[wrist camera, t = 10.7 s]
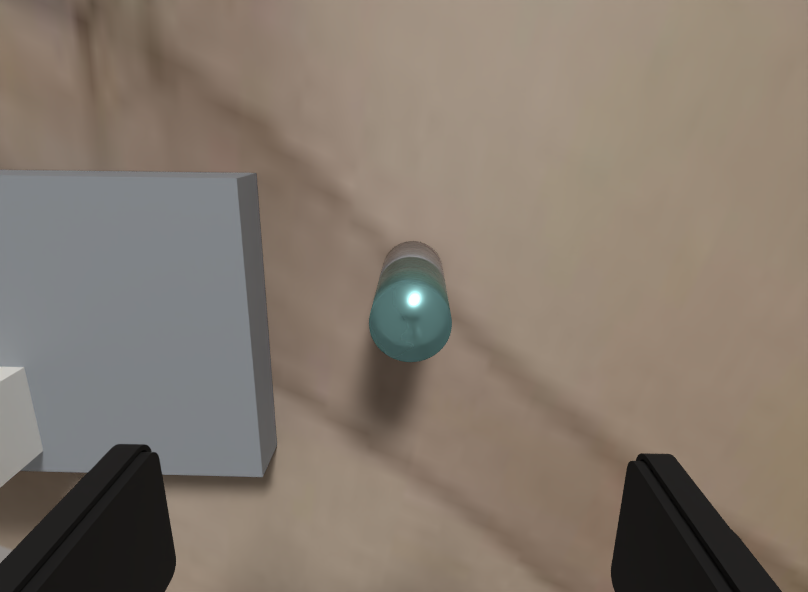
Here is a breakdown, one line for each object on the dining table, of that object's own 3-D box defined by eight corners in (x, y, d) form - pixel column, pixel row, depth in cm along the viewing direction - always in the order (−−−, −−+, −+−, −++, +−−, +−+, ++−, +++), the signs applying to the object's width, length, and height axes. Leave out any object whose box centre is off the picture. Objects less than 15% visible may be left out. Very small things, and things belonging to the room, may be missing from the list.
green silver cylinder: (441, 299, 28) (450, 362, 20) (382, 298, 28) (369, 361, 21) (443, 241, 27) (453, 285, 20) (382, 240, 27) (368, 284, 20)
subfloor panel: (276, 445, 31) (262, 477, 28) (-81, 436, 32) (-130, 467, 29) (256, 173, 26) (236, 178, 23) (-166, 167, 27) (-237, 172, 24)
